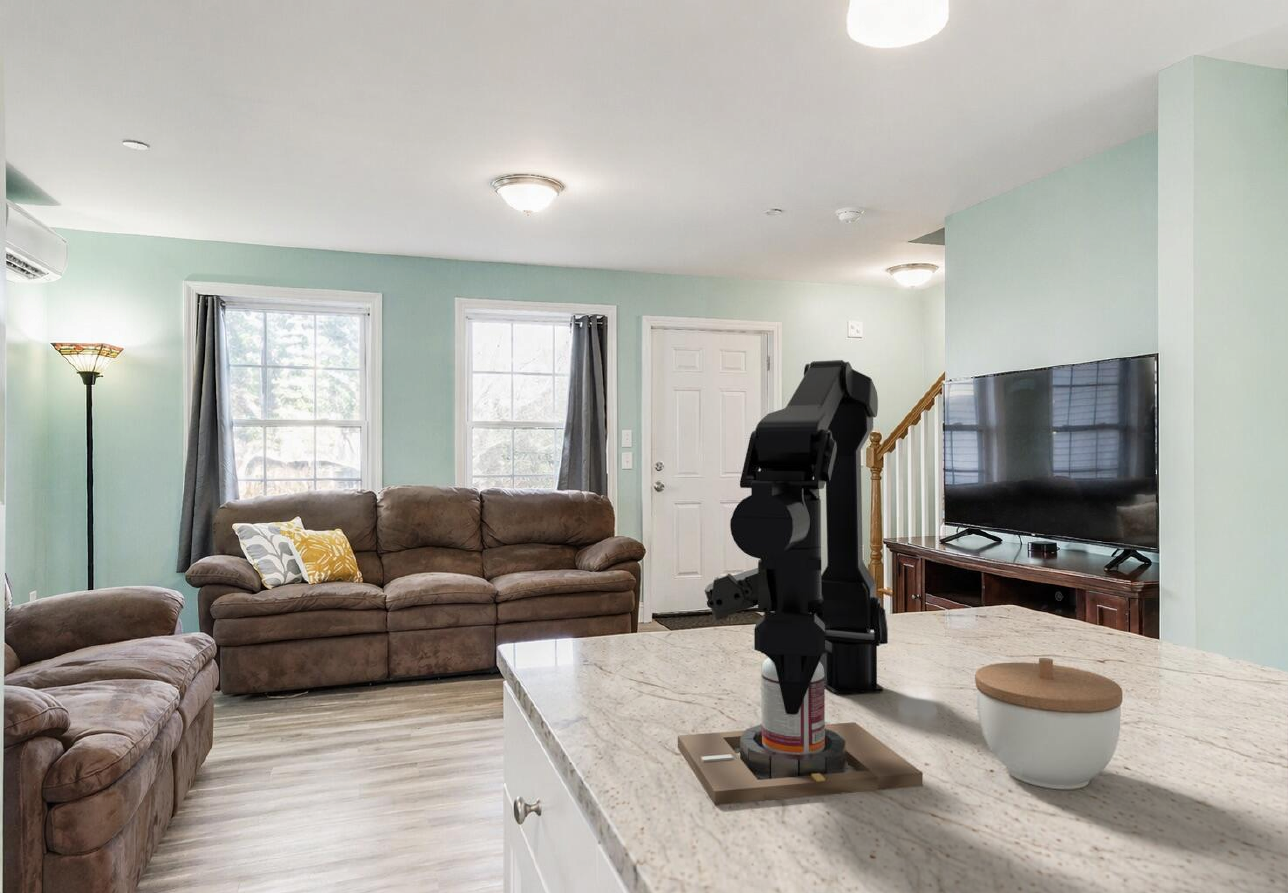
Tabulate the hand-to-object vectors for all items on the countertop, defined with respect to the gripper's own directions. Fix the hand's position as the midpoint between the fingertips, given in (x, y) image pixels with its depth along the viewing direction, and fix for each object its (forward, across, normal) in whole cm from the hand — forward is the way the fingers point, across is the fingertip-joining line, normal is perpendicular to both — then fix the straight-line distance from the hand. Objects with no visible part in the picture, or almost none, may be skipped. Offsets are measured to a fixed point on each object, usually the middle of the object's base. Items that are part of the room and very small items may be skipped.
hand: (792, 703), depth 80 cm
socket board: (+6, 0, 0) cm, 6 cm away
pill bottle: (+5, 0, 0) cm, 5 cm away
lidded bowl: (+6, -2, +24) cm, 25 cm away
